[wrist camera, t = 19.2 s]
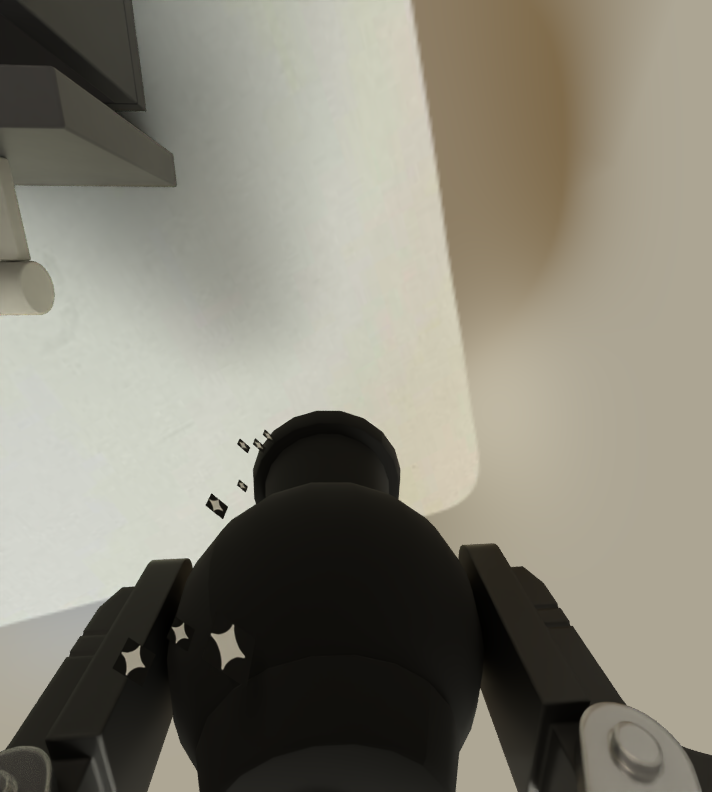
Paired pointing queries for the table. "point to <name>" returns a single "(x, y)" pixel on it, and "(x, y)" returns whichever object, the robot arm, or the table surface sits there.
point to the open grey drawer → (66, 120)
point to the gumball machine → (323, 628)
